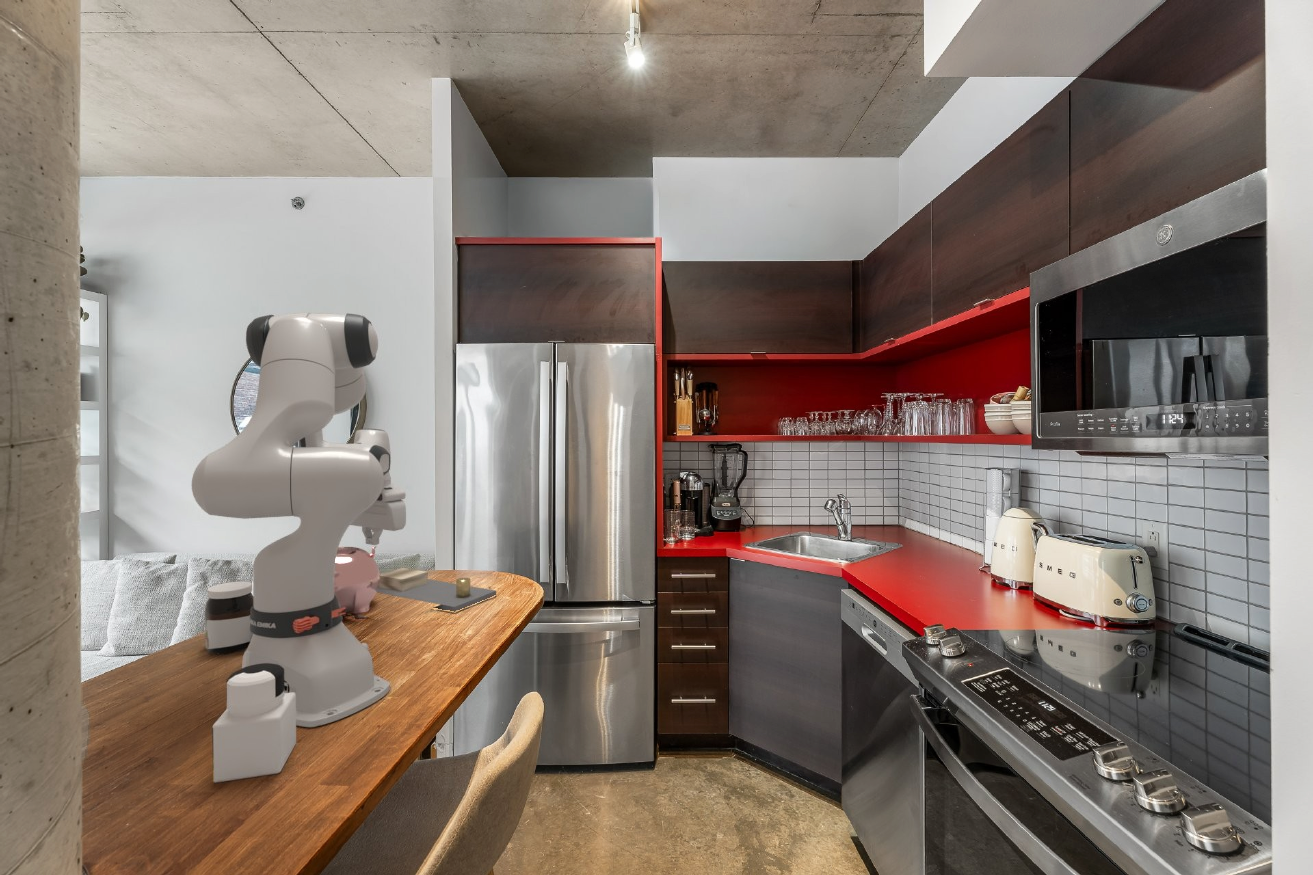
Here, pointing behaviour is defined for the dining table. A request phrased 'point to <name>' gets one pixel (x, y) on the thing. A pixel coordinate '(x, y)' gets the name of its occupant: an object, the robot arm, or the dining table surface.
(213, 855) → the dining table surface
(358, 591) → the piggy bank
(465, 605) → the board
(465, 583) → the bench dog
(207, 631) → the spread jar
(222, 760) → the medicine bottle
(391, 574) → the beige flat block
